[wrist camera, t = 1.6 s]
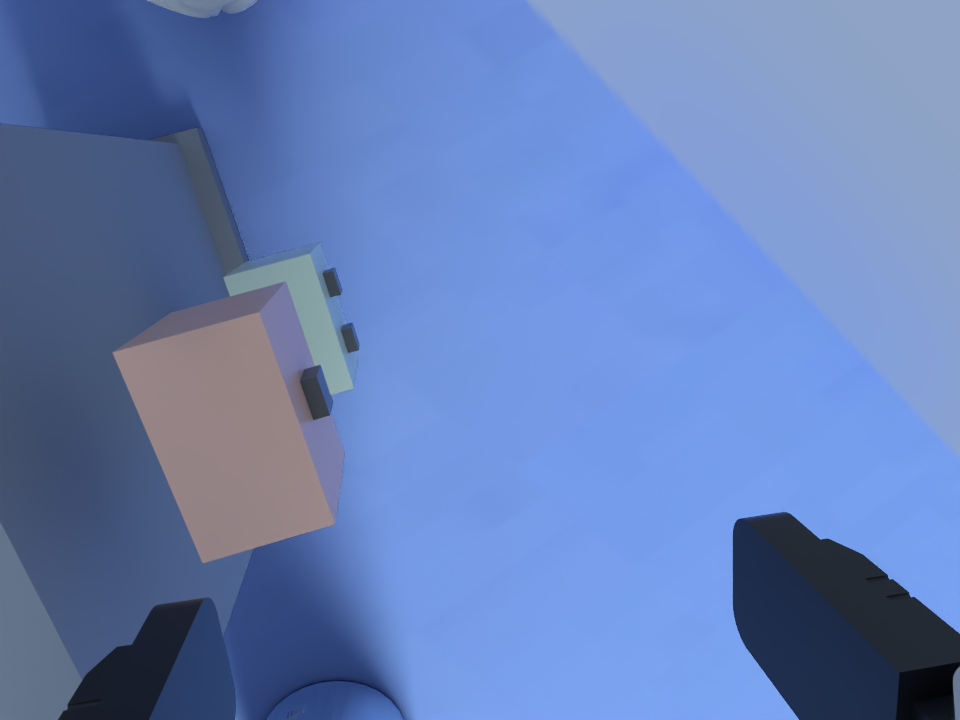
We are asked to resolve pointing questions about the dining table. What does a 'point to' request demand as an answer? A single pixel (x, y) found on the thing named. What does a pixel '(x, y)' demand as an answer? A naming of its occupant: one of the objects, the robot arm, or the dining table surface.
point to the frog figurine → (204, 6)
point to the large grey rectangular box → (94, 396)
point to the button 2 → (309, 307)
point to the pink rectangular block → (238, 420)
